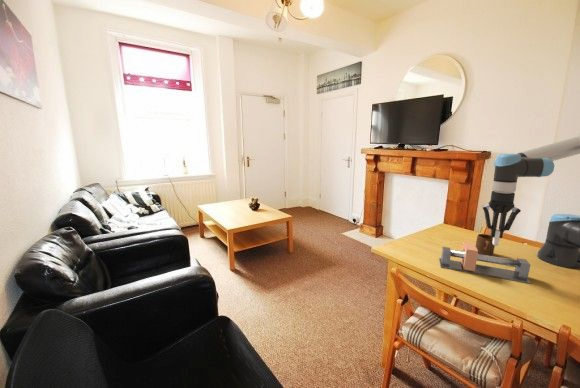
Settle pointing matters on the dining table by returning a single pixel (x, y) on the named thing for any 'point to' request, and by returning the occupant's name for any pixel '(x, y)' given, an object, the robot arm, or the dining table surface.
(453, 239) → the dining table surface
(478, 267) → the pipe rig
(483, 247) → the mug
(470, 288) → the dining table surface
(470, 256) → the collar
